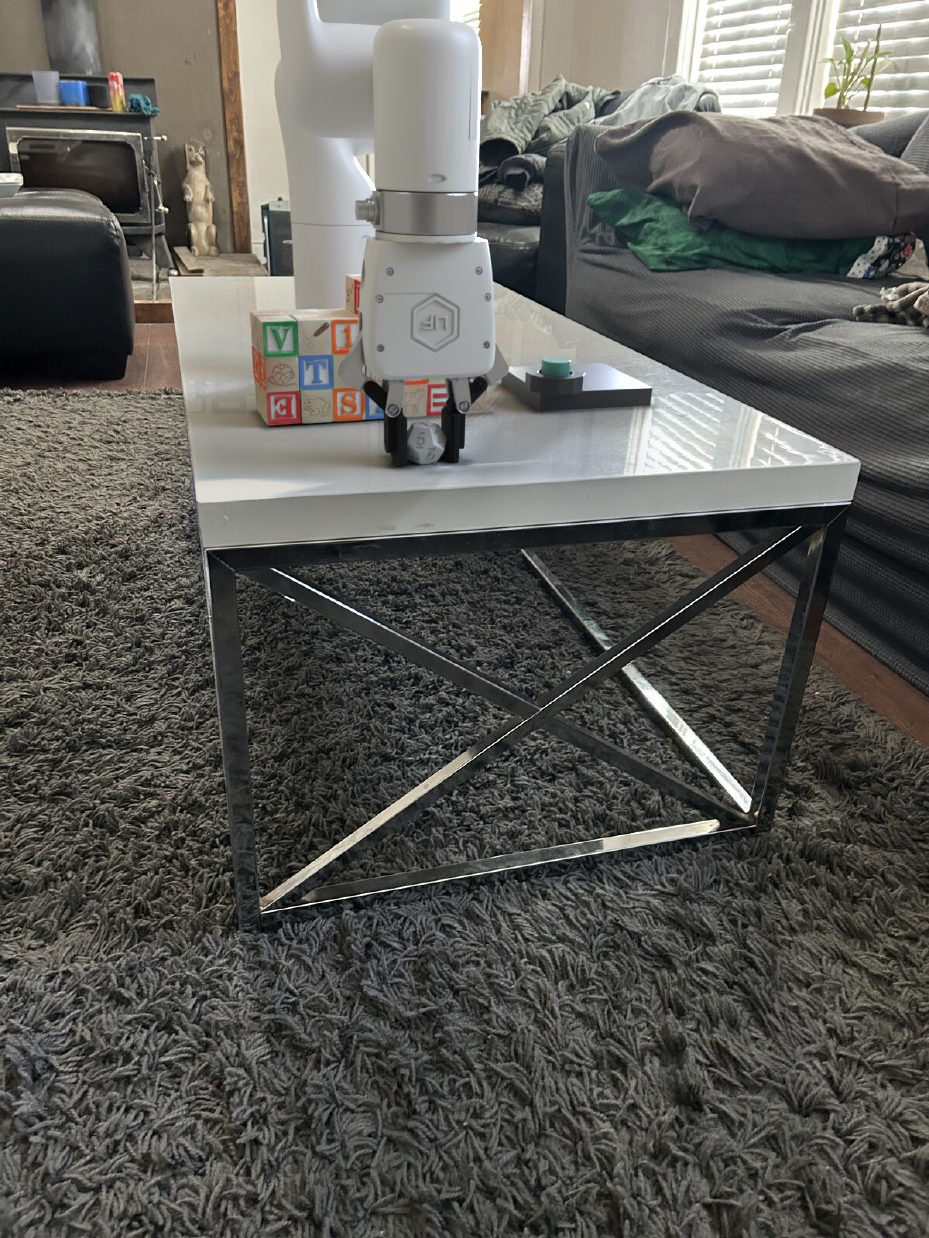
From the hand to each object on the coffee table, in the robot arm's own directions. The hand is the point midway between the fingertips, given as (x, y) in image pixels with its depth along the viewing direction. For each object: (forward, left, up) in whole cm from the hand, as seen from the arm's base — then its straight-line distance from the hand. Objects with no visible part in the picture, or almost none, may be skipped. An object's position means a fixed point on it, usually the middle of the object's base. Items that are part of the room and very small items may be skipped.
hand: (424, 457), depth 78 cm
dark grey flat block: (+21, +19, 0) cm, 28 cm away
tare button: (+17, +15, +3) cm, 23 cm away
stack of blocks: (-1, +16, 0) cm, 16 cm away
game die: (0, 0, 0) cm, 0 cm away
